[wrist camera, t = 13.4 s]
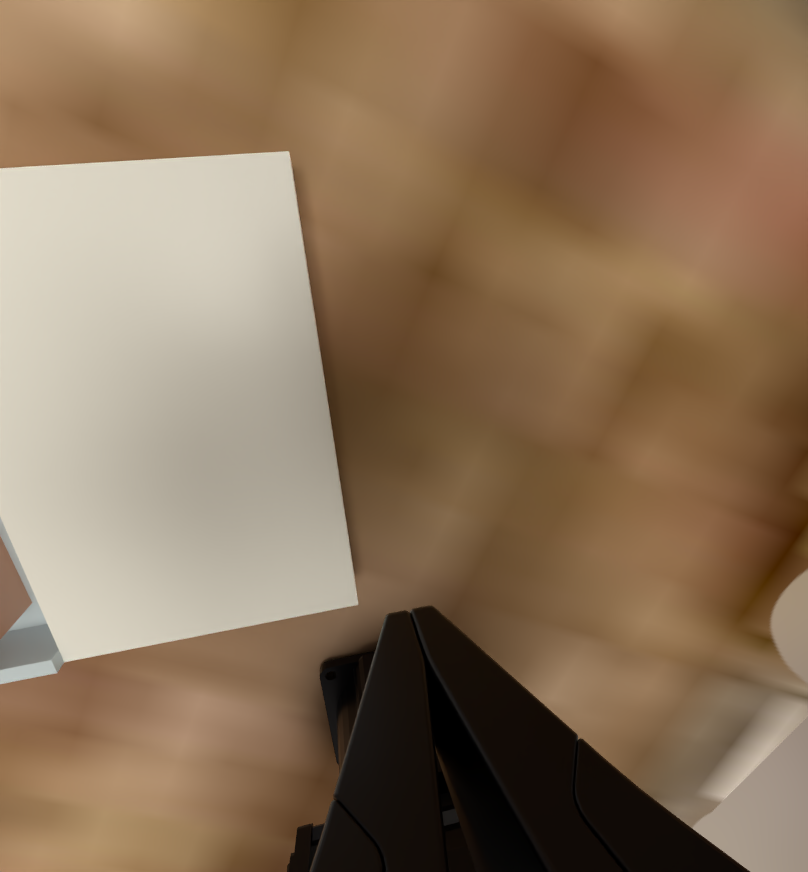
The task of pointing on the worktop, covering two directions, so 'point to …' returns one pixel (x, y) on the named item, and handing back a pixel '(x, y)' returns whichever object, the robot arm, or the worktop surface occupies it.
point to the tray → (27, 636)
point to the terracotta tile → (10, 592)
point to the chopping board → (165, 401)
